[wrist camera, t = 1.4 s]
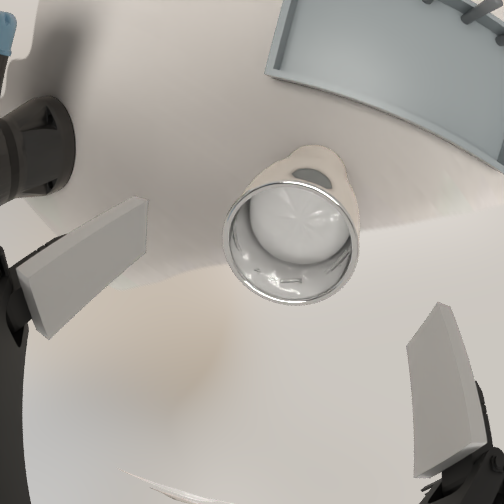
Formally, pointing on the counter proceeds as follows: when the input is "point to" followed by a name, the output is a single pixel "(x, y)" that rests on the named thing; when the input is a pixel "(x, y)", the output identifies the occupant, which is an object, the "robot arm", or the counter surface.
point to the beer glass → (295, 229)
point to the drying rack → (403, 63)
